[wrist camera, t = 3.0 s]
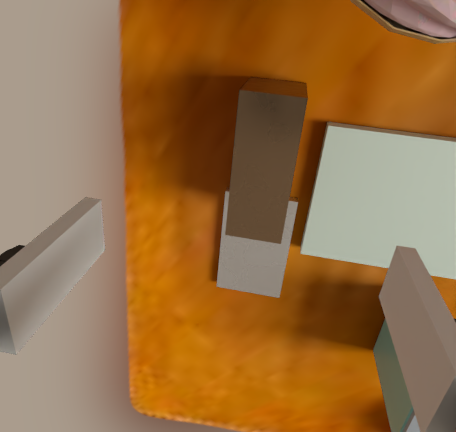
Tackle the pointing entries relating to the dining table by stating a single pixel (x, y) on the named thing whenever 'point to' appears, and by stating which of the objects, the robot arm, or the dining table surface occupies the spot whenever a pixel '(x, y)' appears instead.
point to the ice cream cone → (415, 17)
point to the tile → (393, 385)
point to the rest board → (383, 198)
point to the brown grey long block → (261, 186)
